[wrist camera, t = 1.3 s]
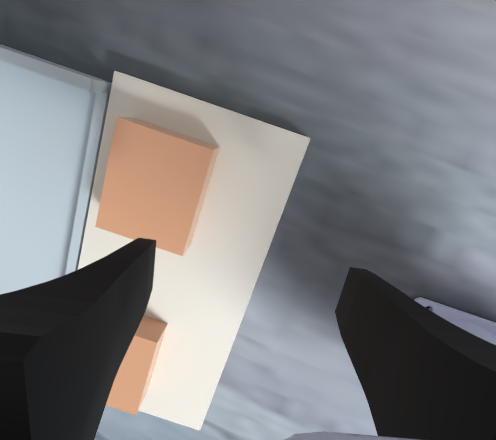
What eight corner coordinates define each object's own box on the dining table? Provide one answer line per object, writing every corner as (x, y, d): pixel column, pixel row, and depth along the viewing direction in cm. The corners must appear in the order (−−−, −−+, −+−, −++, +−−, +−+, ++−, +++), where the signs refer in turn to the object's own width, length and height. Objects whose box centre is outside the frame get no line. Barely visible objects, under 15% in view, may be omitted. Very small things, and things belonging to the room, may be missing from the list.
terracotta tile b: (167, 323, 22) (157, 342, 20) (147, 391, 23) (136, 415, 21) (95, 299, 21) (77, 316, 20) (80, 369, 23) (63, 391, 21)
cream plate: (307, 137, 19) (310, 138, 17) (204, 413, 25) (199, 430, 24) (126, 74, 19) (114, 70, 17) (69, 368, 25) (56, 383, 24)
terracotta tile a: (220, 147, 18) (213, 150, 16) (191, 243, 20) (182, 256, 18) (133, 117, 18) (116, 116, 16) (112, 216, 20) (95, 226, 18)
